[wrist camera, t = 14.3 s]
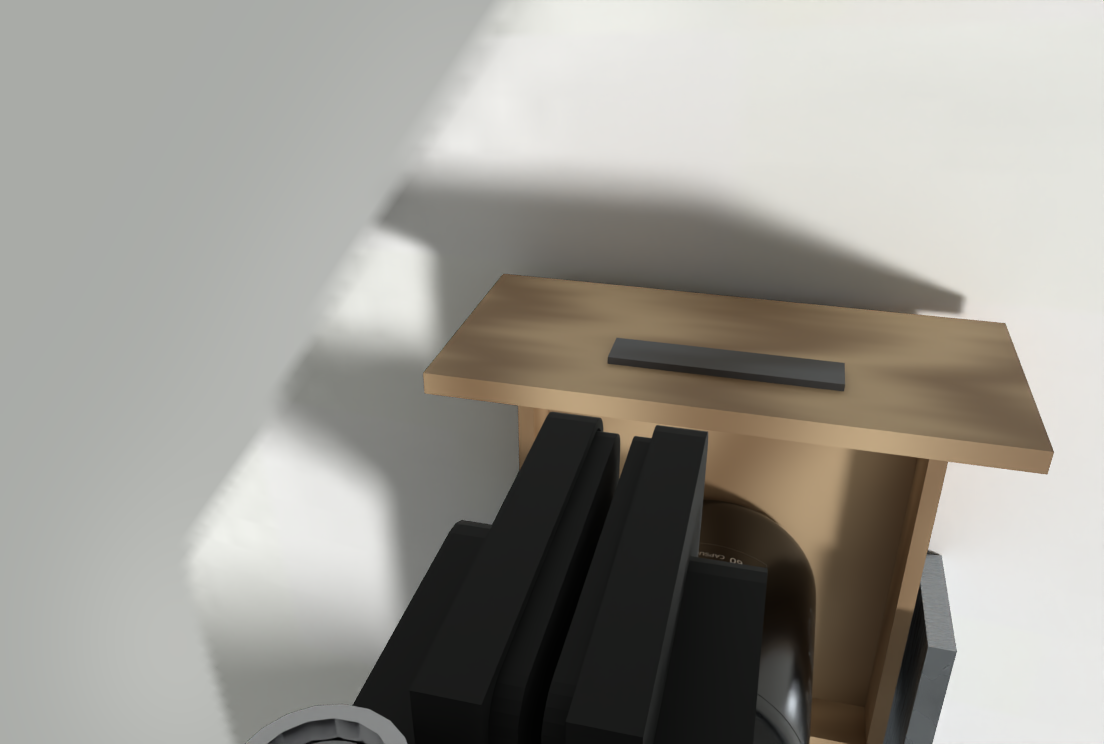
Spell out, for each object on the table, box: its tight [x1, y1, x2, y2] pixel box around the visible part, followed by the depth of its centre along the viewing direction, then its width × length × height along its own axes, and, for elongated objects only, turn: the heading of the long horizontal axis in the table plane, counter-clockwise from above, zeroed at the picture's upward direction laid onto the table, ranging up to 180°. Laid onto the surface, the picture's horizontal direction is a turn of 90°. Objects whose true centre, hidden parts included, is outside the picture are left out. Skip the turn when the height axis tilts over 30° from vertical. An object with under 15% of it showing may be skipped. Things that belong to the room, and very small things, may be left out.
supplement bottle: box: [698, 499, 816, 744], centre depth 28 cm, size 7×7×12 cm
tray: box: [423, 274, 1054, 744], centre depth 29 cm, size 15×16×7 cm
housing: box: [883, 554, 957, 744], centre depth 36 cm, size 15×16×5 cm
